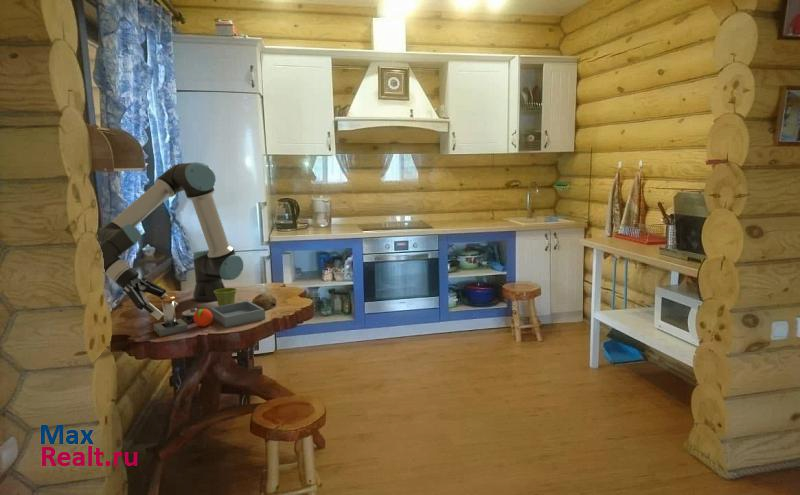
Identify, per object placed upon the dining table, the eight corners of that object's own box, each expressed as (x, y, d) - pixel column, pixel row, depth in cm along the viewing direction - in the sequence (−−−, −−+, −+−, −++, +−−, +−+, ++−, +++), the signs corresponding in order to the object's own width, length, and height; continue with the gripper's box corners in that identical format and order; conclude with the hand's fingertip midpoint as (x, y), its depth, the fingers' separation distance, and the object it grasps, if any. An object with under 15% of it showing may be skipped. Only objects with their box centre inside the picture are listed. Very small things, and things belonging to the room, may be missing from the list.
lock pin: (162, 330, 185) (158, 297, 183) (176, 327, 188) (173, 294, 186) (165, 333, 181) (161, 300, 179) (180, 330, 184) (176, 297, 182)
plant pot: (213, 308, 213) (211, 289, 212) (235, 305, 218) (234, 286, 216) (217, 313, 205) (215, 294, 204) (240, 310, 210) (238, 290, 208)
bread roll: (266, 318, 209) (272, 302, 207) (245, 308, 210) (251, 292, 208) (276, 312, 218) (282, 296, 217) (256, 301, 220) (262, 286, 218)
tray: (210, 317, 201) (210, 307, 200) (248, 309, 210) (247, 300, 210) (225, 327, 187) (224, 317, 186) (265, 318, 196) (264, 309, 196)
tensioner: (149, 325, 192) (148, 314, 192) (202, 314, 205) (201, 304, 204) (160, 336, 178) (158, 325, 177) (216, 324, 190) (215, 313, 190)
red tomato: (209, 329, 185) (207, 311, 184) (190, 330, 184) (188, 312, 183) (215, 322, 193) (214, 305, 192) (197, 323, 192) (196, 306, 191)
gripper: (132, 274, 192) (174, 309, 196) (98, 289, 168) (147, 329, 171) (144, 260, 192) (187, 296, 195) (112, 274, 167) (161, 314, 171)
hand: (168, 311), depth 183 cm, fingers open, 13 cm apart
